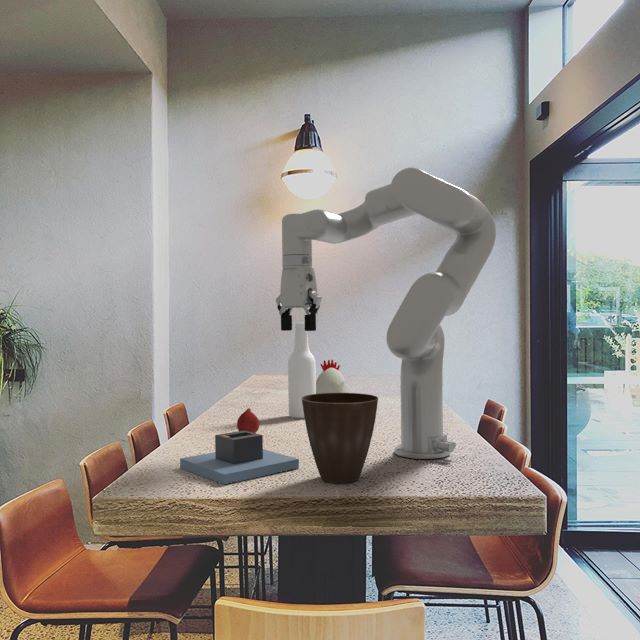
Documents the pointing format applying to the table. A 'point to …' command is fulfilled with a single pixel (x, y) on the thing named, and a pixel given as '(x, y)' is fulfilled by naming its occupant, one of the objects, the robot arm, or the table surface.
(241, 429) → the onion
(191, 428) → the table surface
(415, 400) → the robot arm
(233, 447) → the hollow gray block
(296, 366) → the alcohol
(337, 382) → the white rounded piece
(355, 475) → the plant pot
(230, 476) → the base board
